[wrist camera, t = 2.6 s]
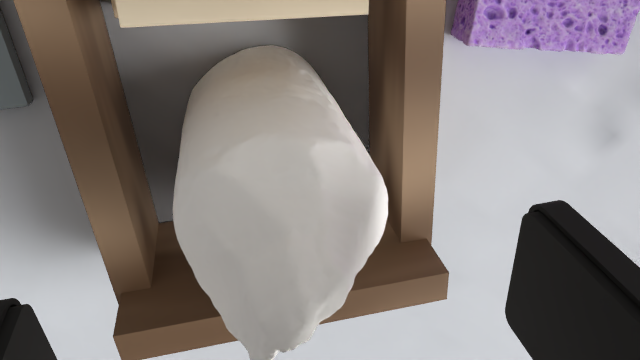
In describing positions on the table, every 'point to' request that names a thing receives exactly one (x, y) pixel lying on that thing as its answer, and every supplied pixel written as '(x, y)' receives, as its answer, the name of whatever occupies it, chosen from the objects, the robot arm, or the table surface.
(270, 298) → the white tall rounded lump
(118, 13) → the offcut stack
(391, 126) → the rack
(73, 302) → the table surface
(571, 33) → the sponges
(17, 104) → the mat
